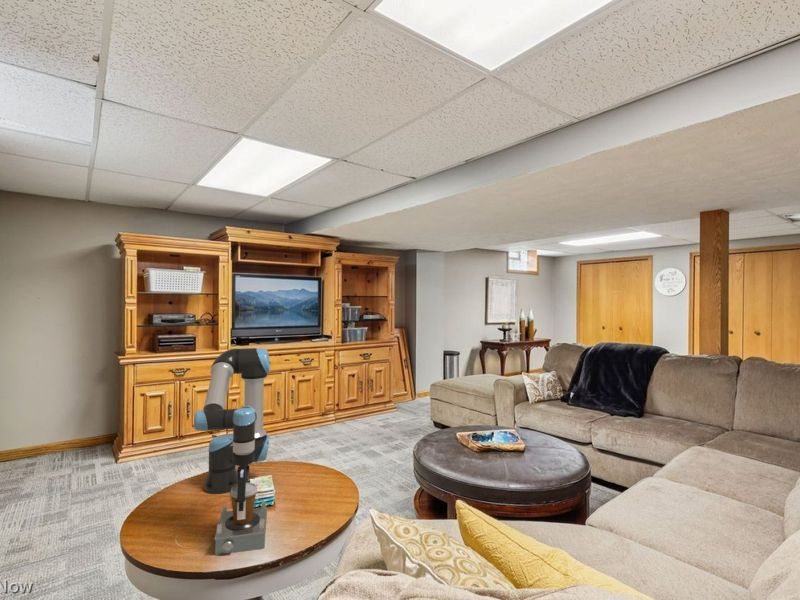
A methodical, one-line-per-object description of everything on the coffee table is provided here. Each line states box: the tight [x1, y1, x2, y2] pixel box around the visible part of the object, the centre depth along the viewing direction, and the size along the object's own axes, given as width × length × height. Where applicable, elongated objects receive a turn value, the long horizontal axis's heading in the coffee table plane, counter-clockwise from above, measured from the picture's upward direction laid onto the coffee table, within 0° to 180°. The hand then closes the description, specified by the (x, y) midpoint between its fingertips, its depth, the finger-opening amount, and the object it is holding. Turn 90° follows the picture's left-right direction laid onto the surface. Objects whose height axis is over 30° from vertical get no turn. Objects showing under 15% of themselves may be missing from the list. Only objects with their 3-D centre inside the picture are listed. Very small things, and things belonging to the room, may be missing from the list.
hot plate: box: [214, 501, 268, 556], centre depth 156 cm, size 20×17×9 cm
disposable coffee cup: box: [229, 482, 258, 524], centre depth 156 cm, size 10×10×12 cm
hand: (242, 510), depth 156 cm, fingers open, 13 cm apart
